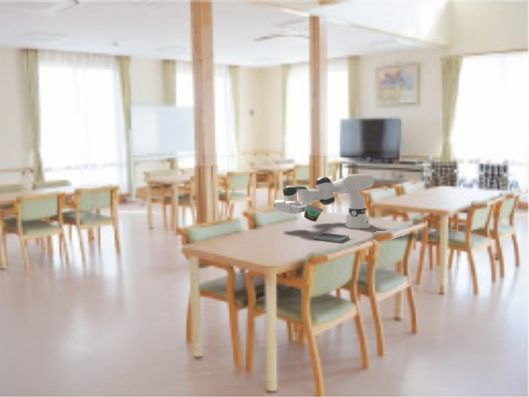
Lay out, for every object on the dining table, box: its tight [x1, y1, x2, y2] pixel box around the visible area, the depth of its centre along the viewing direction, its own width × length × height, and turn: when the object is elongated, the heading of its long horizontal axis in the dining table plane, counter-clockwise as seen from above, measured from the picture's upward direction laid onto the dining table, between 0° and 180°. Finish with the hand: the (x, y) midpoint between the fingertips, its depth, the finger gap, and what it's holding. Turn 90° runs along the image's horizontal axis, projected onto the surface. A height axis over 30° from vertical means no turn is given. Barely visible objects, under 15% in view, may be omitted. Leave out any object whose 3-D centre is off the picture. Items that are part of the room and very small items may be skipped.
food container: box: [303, 203, 324, 222], centre depth 365 cm, size 12×6×10 cm, turn 99°
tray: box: [312, 232, 350, 244], centre depth 351 cm, size 15×19×2 cm
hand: (312, 209), depth 367 cm, fingers open, 2 cm apart
